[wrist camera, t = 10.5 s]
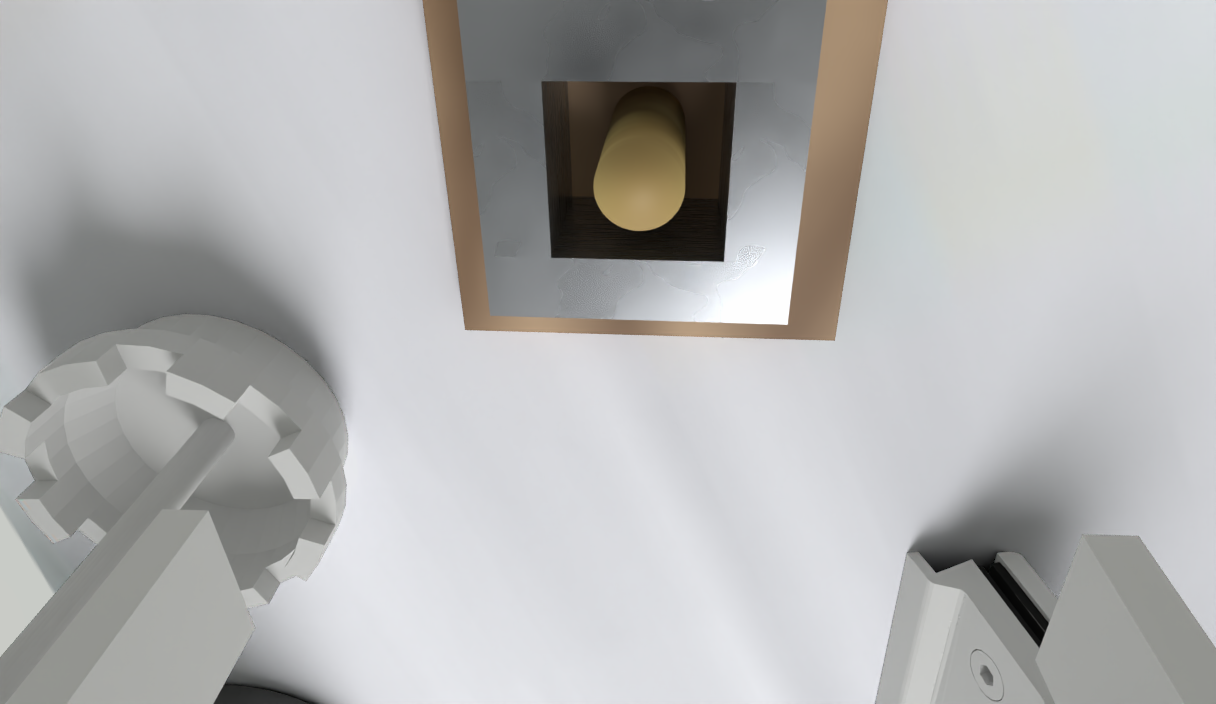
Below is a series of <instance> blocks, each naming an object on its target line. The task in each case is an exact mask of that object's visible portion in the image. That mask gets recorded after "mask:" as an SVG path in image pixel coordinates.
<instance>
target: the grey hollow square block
mask: <svg viewBox="0 0 1216 704" xmlns="http://www.w3.org/2000/svg"><path fill="white" fill-rule="evenodd" d="M826 3H827V0H457V8H458V17H459V26H460V36H461V45H462V55H463V64H464V74H465V83H466V93H467V102H468V111H469V121H470V130H471V140H472V149H473V159H474V168H475V178H476V187H477V197H478V206H479V215H480V225H481V234H482V244H483V253H484V263H485V272H486V282H487V291H488V300H489V310H490V316H516V317H549V318H583V319H616V320H650V321H683V322H717V323H750V324H784V325H787V324H788V316H789V307H790V299H791V291H792V283H793V274H794V266H795V258H796V250H797V242H798V233H799V225H800V217H801V209H802V201H803V192H804V184H805V176H806V168H807V160H808V151H809V143H810V135H811V127H812V118H813V110H814V102H815V94H816V86H817V77H818V69H819V61H820V53H821V45H822V36H823V28H824V20H825V12H826ZM568 81H586V82H726V83H725V99H724V115H723V131H722V147H721V163H720V179H719V195H718V199H700V198H684V199H683V202H682V204H681V207H680V208H679V210H678V212H677V213H676V214H675V215H674V216H673V218H672V219H670V220H669V221H668V222H667V223H665V224H663V225H662V226H660V227H657V228H655V229H651V230H646V231H633V230H628V229H625V228H622V227H620V226H618V225H616V224H614V223H613V222H611V221H610V220H609V219H608V218H607V217H606V216H605V215H604V214H603V213H602V211H601V210H600V208H599V206H598V205H597V202H596V199H595V197H586V196H572V174H571V149H570V124H569V98H568Z"/></svg>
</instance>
